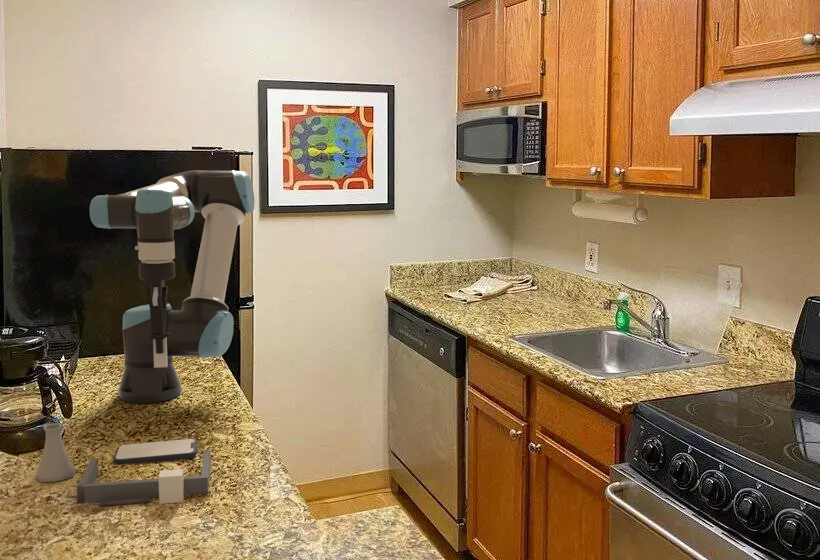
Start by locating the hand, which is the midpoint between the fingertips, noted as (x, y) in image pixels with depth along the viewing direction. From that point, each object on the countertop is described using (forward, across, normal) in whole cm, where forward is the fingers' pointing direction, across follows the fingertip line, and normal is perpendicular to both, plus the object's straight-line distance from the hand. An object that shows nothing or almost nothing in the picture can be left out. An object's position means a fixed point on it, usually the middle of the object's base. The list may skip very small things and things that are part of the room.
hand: (160, 366), depth 170 cm
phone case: (+16, +14, 0) cm, 21 cm away
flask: (+15, +22, -18) cm, 32 cm away
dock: (+15, +30, 0) cm, 33 cm away
